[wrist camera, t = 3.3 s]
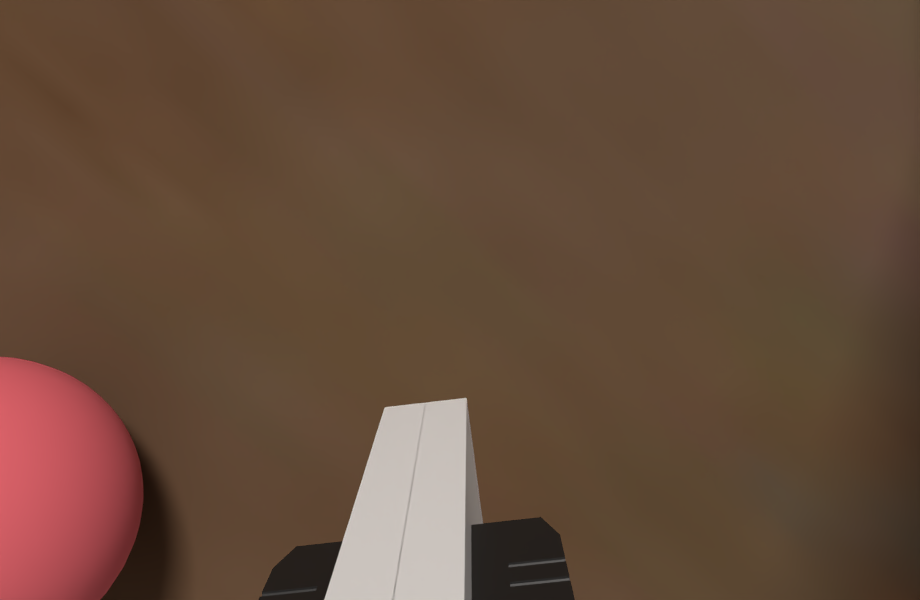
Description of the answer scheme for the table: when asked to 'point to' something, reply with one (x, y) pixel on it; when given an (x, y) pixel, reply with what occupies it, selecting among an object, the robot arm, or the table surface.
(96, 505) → the ball
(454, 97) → the table surface
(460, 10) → the table surface
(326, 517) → the table surface
